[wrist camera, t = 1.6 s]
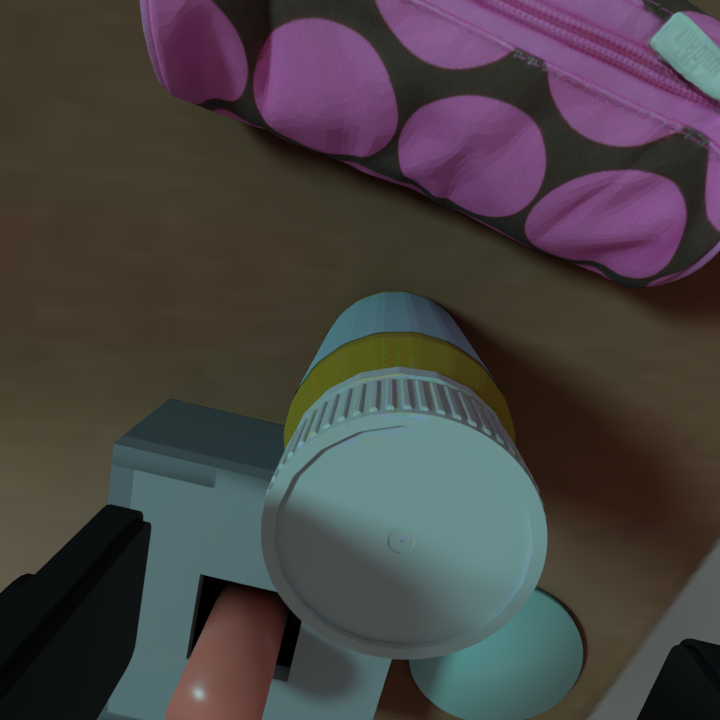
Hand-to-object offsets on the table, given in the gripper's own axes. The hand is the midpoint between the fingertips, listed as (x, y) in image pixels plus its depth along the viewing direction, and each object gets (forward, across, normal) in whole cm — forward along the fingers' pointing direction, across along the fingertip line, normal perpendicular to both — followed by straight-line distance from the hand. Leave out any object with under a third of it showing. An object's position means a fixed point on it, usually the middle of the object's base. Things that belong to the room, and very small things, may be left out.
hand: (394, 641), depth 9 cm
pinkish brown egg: (+13, +4, +12) cm, 19 cm away
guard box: (+17, +4, +12) cm, 22 cm away
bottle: (+17, 0, -1) cm, 17 cm away
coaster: (+17, -10, +15) cm, 25 cm away
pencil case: (+17, +1, -13) cm, 21 cm away
